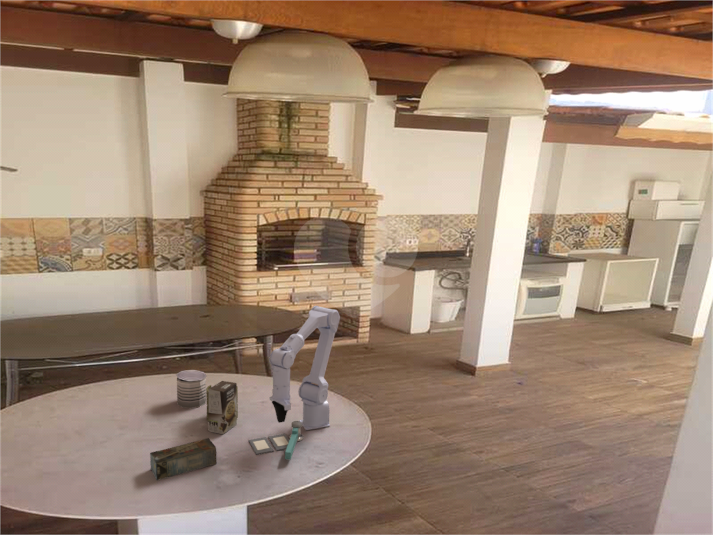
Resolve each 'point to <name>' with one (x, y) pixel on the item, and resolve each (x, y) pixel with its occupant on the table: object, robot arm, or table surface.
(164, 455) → the beverage carton
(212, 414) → the coffee box
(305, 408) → the robot arm
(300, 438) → the pivot post
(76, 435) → the table surface
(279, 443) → the label tile
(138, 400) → the table surface
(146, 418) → the table surface
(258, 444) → the label tile
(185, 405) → the can
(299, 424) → the bar
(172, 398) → the table surface
